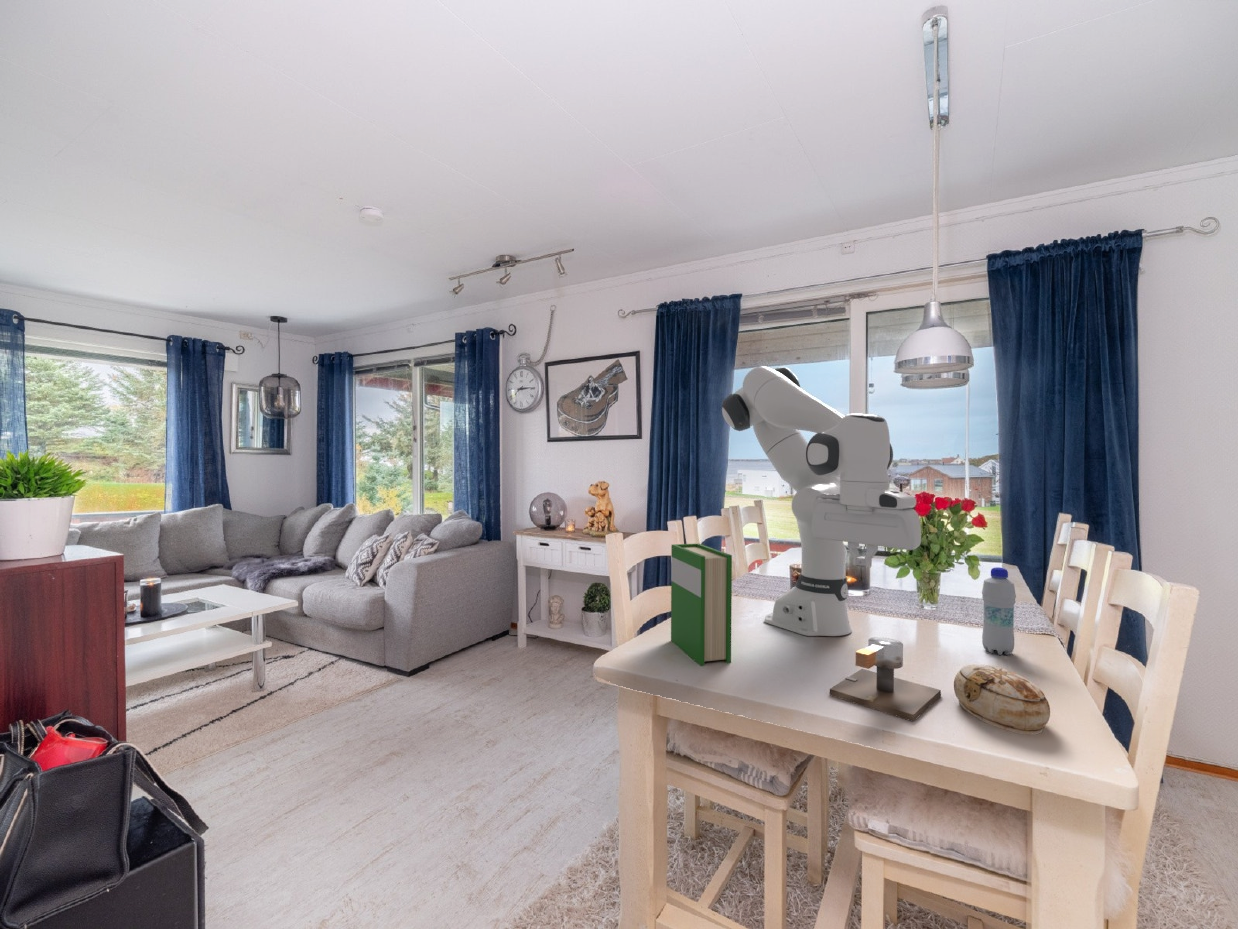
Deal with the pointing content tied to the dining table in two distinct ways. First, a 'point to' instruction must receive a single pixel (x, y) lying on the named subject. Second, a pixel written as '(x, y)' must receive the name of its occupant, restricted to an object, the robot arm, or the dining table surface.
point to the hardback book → (701, 602)
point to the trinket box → (1002, 698)
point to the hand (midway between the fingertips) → (862, 566)
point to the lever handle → (881, 654)
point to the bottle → (998, 612)
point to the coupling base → (886, 693)
